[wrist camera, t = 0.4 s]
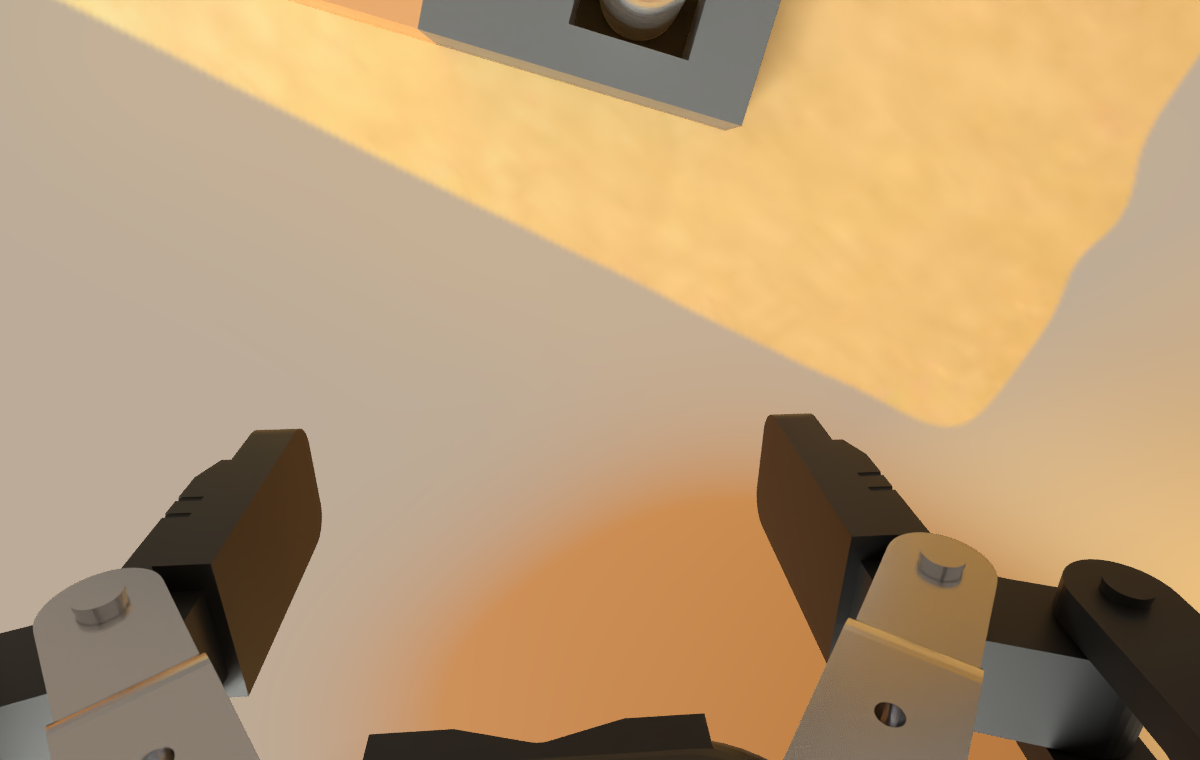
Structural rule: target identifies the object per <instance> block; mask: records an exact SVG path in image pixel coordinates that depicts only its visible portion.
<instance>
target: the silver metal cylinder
mask: <svg viewBox="0 0 1200 760" xmlns="http://www.w3.org/2000/svg"><path fill="white" fill-rule="evenodd" d="M685 1H686V0H600V5H601V9H602V13H603V15H604V17H605V19H606V21H607V23H608V24H609V25H610V27H611V28H612V29H613V30H614V31H615V32H616V33H618V34H619V35H621V36H623V37H625V38H627V39H630V40H635V41H645V40H650V39H652V38H655V37H657V36H659V35H660V34H662V33H663V32H665V31H666V30H667V29H668V28H669V26H670V25H671V24H672V23H673V21H674V19H675V18H676V16H677V14H678V13H679V11H680V9H681V7H682V6H683V4H684V2H685Z"/></svg>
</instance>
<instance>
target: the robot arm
mask: <svg viewBox="0 0 1200 760" xmlns="http://www.w3.org/2000/svg"><path fill="white" fill-rule="evenodd" d="M757 507H758V513H759V518H760V521H761V524H762V526H763V529H764V531H765V533H766V535H767V537H768V539H769V541H770V543H771V546H772V548H773V550H774V552H775V554H776V556H777V558H778V561H779V563H780V565H781V567H782V569H783V571H784V573H785V576H786V578H787V579H788V582H789V584H790V586H791V588H792V590H793V592H794V595H795V597H796V599H797V601H798V603H799V605H800V608H801V610H802V612H803V614H804V616H805V618H806V620H807V622H808V625H809V627H810V629H811V631H812V633H813V635H814V637H815V640H816V642H817V644H818V646H819V648H820V650H821V652H822V654H823V657H824V659H825V661H826V663H827V664H826V667H825V669H824V671H823V673H822V676H821V678H820V680H819V682H818V684H817V686H816V689H815V691H814V693H813V695H812V698H811V700H810V702H809V704H808V707H807V709H806V711H805V713H804V715H803V718H802V720H801V722H800V724H799V726H798V728H797V731H796V733H795V735H794V738H793V740H792V742H791V744H790V746H789V749H788V751H787V753H786V756H785V757H784V759H783V760H968V755H969V750H970V745H971V740H972V735H973V731H974V732H978V733H983V734H987V735H992V736H997V737H1002V738H1006V739H1010V740H1015V741H1016V742H1017V744H1018V745H1019V747H1020V748H1021V750H1022V752H1023V754H1024V755H1025V757H1026V758H1027V760H1157V759H1156V758H1155V757H1154V755H1153V754H1152V753H1151V752H1150V751H1149V749H1148V748H1147V747H1146V745H1145V744H1144V743H1143V742H1142V741H1141V739H1140V738H1139V737H1138V736H1139V734H1140V732H1141V730H1142V728H1143V726H1144V727H1145V729H1146V730H1147V731H1148V732H1149V733H1150V735H1151V736H1152V737H1153V738H1154V739H1155V741H1156V742H1157V743H1158V744H1159V746H1160V747H1161V748H1162V749H1163V750H1164V752H1165V753H1166V755H1167V756H1168V758H1169V759H1170V760H1200V614H1199V613H1198V612H1197V611H1196V610H1195V609H1194V608H1193V607H1191V606H1190V605H1189V604H1188V603H1187V602H1186V601H1185V600H1184V599H1183V598H1182V597H1181V596H1180V595H1179V594H1177V593H1176V592H1175V591H1174V590H1173V589H1171V588H1170V587H1169V586H1167V585H1166V584H1164V583H1163V582H1161V581H1160V580H1158V579H1156V578H1154V577H1152V576H1150V575H1148V574H1146V573H1144V572H1142V571H1140V570H1137V569H1134V568H1132V567H1129V566H1126V565H1122V564H1119V563H1115V562H1111V561H1104V560H1093V559H1088V560H1080V561H1076V562H1073V563H1071V564H1069V565H1068V566H1067V567H1066V568H1065V569H1064V571H1063V574H1062V576H1061V579H1060V582H1059V585H1058V587H1052V586H1046V585H1040V584H1034V583H1028V582H1022V581H1016V580H1011V579H1006V578H1001V577H997V574H996V570H995V569H994V567H993V565H992V564H991V563H990V562H989V560H988V559H987V558H985V557H984V556H983V555H982V554H981V553H980V552H978V551H977V550H975V549H974V548H972V547H970V546H969V545H967V544H965V543H963V542H961V541H958V540H956V539H953V538H950V537H947V536H943V535H939V534H933V533H930V532H929V531H928V530H927V528H926V527H925V526H924V525H923V524H922V522H921V521H920V520H919V519H918V518H917V516H916V515H915V514H914V513H913V511H912V510H911V509H910V507H909V506H908V505H907V504H906V503H905V501H904V500H903V499H902V498H901V496H900V495H899V494H898V493H897V491H896V490H892V485H891V484H890V483H889V482H888V481H887V479H886V478H885V477H884V475H881V473H880V471H879V469H878V468H877V467H876V466H875V464H874V463H873V462H872V461H871V459H870V458H869V457H868V456H867V455H866V454H865V453H863V452H862V451H860V450H859V449H857V448H855V447H854V446H852V445H850V444H849V443H847V442H846V441H844V440H832V439H831V437H830V436H829V435H828V433H827V432H826V431H825V429H824V428H823V427H822V425H821V424H820V423H819V421H817V419H816V418H815V416H814V415H812V414H784V415H783V414H781V415H769V416H768V417H767V419H766V422H765V426H764V434H763V443H762V451H761V460H760V468H759V476H758V485H757ZM321 521H322V512H321V503H320V498H319V493H318V488H317V483H316V477H315V473H314V467H313V462H312V457H311V452H310V446H309V442H308V438H307V436H306V433H305V432H304V431H303V430H302V429H281V430H256V431H254V432H252V433H251V435H250V436H249V437H248V439H247V440H246V441H245V443H244V444H243V445H242V447H241V448H240V449H239V450H238V452H237V453H236V455H235V456H234V457H233V458H232V460H221V461H219V462H218V463H216V464H215V465H213V466H212V467H210V468H208V469H207V470H205V471H204V472H203V473H201V474H200V475H198V476H196V477H195V478H194V479H193V480H192V481H191V483H190V484H189V485H188V486H187V488H186V489H185V490H184V491H183V493H182V494H181V495H180V496H179V501H175V502H174V504H173V505H172V506H171V507H170V509H169V510H168V511H167V512H166V516H165V518H162V519H161V520H160V521H159V522H158V524H157V525H156V526H155V527H154V529H153V530H152V531H151V532H150V533H149V535H148V536H147V537H146V538H145V540H144V541H143V542H142V543H141V545H140V546H139V547H138V548H137V550H136V551H135V552H134V553H133V555H132V556H131V557H130V558H129V560H128V561H127V562H126V563H125V564H124V566H123V567H122V568H121V569H117V570H111V571H107V572H104V573H100V574H97V575H94V576H91V577H89V578H86V579H84V580H82V581H79V582H77V583H75V584H74V585H71V586H70V587H68V588H66V589H65V590H63V591H62V592H60V593H59V594H57V595H56V596H55V597H53V598H52V599H51V600H50V601H49V602H48V603H47V604H45V606H44V607H43V608H42V609H41V610H40V611H39V613H38V615H37V616H36V618H35V620H34V624H33V625H32V626H29V627H24V628H20V629H16V630H12V631H9V632H4V633H1V634H0V760H260V759H259V757H258V755H257V753H256V751H255V749H254V747H253V745H252V743H251V741H250V739H249V737H248V735H247V733H246V731H245V730H244V727H243V725H242V723H241V721H240V719H239V717H238V715H237V713H236V711H235V709H234V707H233V705H232V703H231V701H230V699H229V697H243V696H244V697H246V696H249V694H250V692H251V690H252V687H253V685H254V683H255V681H256V679H257V676H258V674H259V672H260V670H261V667H262V665H263V663H264V661H265V659H266V656H267V654H268V652H269V650H270V647H271V645H272V643H273V641H274V638H275V636H276V634H277V632H278V630H279V627H280V625H281V623H282V621H283V619H284V616H285V614H286V612H287V610H288V607H289V605H290V603H291V601H292V599H293V596H294V594H295V592H296V590H297V587H298V585H299V583H300V581H301V578H302V576H303V574H304V572H305V569H306V567H307V565H308V563H309V561H310V559H311V556H312V554H313V552H314V550H315V547H316V545H317V543H318V540H319V537H320V531H321V523H322V522H321ZM363 760H767V759H765V758H763V757H761V756H759V755H756V754H754V753H751V752H749V751H747V750H744V749H741V748H738V747H734V746H731V745H728V744H724V743H719V742H714V741H711V739H710V735H709V731H708V727H707V723H706V718H705V714H689V715H673V716H658V717H643V718H642V717H641V718H625V719H621V720H618V721H614V722H611V723H608V724H604V725H601V726H598V727H594V728H591V729H588V730H584V731H581V732H578V733H575V734H571V735H568V736H565V737H561V738H558V739H555V740H551V741H548V742H543V743H531V742H525V741H519V740H513V739H507V738H501V737H495V736H490V735H484V734H478V733H472V732H466V731H460V730H455V729H450V730H434V731H419V732H403V733H388V734H371V735H369V737H368V741H367V745H366V750H365V753H364V758H363Z"/></svg>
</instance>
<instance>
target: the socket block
mask: <svg viewBox="0 0 1200 760" xmlns="http://www.w3.org/2000/svg"><path fill="white" fill-rule="evenodd" d="M290 1H293V2H297V3H300V4H303V5H307V6H310V7H313V8H317V9H320V10H323V11H327V12H330V13H333V14H337V15H340V16H343V17H347V18H350V19H354V20H357V21H360V22H364V23H367V24H370V25H374V26H377V27H380V28H384V29H387V30H390V31H394V32H397V33H400V34H404V35H407V36H411V37H414V38H417V39H421V40H424V41H427V42H431V43H434V44H437V45H441V46H444V47H447V48H451V49H454V50H457V51H461V52H464V53H468V54H471V55H474V56H478V57H481V58H484V59H488V60H491V61H494V62H498V63H501V64H504V65H508V66H511V67H514V68H518V69H521V70H524V71H528V72H531V73H535V74H538V75H541V76H545V77H548V78H551V79H555V80H558V81H561V82H565V83H568V84H571V85H575V86H578V87H581V88H585V89H588V90H592V91H595V92H598V93H602V94H605V95H608V96H612V97H615V98H618V99H622V100H625V101H628V102H632V103H635V104H638V105H642V106H645V107H649V108H652V109H655V110H659V111H662V112H665V113H669V114H672V115H675V116H679V117H682V118H685V119H689V120H692V121H695V122H699V123H702V124H705V125H709V126H712V127H716V128H719V129H722V130H729V129H732V128H736V127H740V126H742V122H743V119H744V116H745V113H746V110H747V107H748V103H749V100H750V97H751V94H752V91H753V87H754V84H755V81H756V78H757V75H758V71H759V68H760V65H761V62H762V59H763V55H764V52H765V49H766V46H767V43H768V40H769V36H770V33H771V30H772V27H773V24H774V20H775V17H776V14H777V11H778V8H779V4H780V1H781V0H698V3H697V6H696V10H695V13H694V17H693V20H692V24H691V28H690V31H689V35H688V38H687V42H686V45H685V49H684V52H683V56H682V58H678V57H675V56H672V55H669V54H665V53H662V52H659V51H655V50H652V49H649V48H646V47H642V46H639V45H636V44H633V43H629V42H626V41H623V40H620V39H616V38H613V37H610V36H607V35H603V34H600V33H597V32H593V31H590V30H587V29H584V28H580V27H577V26H574V24H575V19H576V15H577V11H578V7H579V3H580V0H290Z"/></svg>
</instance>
